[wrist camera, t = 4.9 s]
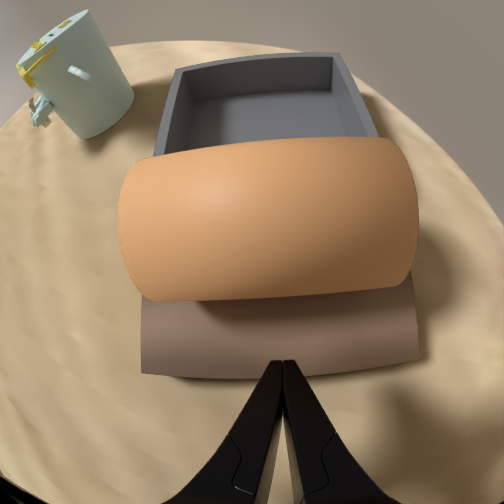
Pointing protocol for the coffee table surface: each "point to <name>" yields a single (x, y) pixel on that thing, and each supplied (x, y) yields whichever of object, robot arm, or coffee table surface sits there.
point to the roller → (269, 219)
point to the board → (280, 333)
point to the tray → (262, 102)
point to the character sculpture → (76, 78)
